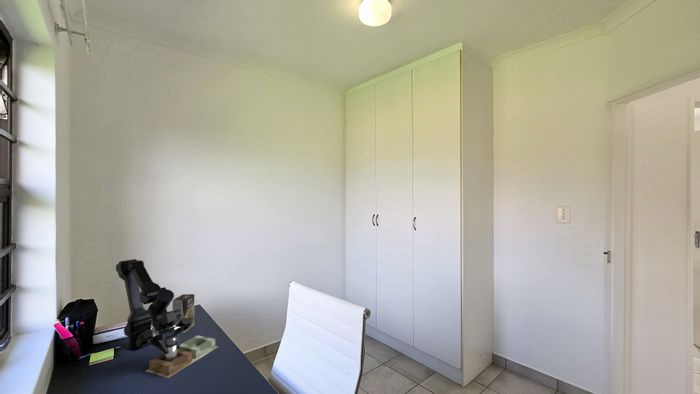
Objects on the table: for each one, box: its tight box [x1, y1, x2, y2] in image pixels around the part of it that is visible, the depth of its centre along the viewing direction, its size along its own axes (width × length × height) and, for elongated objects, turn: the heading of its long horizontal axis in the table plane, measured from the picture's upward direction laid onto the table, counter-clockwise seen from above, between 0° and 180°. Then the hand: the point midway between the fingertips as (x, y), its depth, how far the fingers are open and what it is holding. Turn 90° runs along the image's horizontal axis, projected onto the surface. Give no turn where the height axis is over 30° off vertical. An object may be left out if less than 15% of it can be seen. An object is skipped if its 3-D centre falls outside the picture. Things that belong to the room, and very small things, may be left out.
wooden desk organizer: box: [145, 335, 219, 379], centre depth 121 cm, size 12×24×4 cm, turn 160°
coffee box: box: [171, 293, 195, 334], centre depth 149 cm, size 9×6×16 cm
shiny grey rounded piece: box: [164, 334, 177, 362], centre depth 115 cm, size 4×4×11 cm
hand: (172, 351), depth 114 cm, fingers closed on shiny grey rounded piece, 4 cm apart
